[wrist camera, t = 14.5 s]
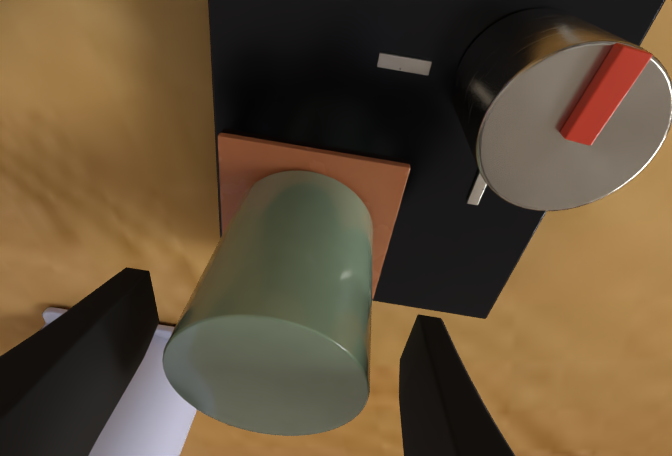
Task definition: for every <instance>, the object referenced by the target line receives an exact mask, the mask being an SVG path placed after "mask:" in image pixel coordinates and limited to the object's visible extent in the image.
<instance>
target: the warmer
mask: <svg viewBox="0 0 672 456" xmlns="http://www.w3.org/2000/svg"><path fill="white" fill-rule="evenodd" d="M664 2H665V0H208V6H209V25H210V45H211V65H212V84H213V104H214V124H215V143H216V163H217V182H218V202H219V222H220V239H221V237H222V220H221V199H220V178H219V156H218V135H219V134H220V133H227V134H233V135H239V136H245V137H251V138H257V139H263V140H269V141H275V142H281V143H287V144H293V145H299V146H305V147H311V148H317V149H323V150H329V151H335V152H341V153H347V154H353V155H359V156H365V157H371V158H377V159H383V160H389V161H395V162H401V163H407V164H410V172H409V175H408V179H407V182H406V186H405V189H404V193H403V196H402V200H401V203H400V207H399V210H398V214H397V217H396V221H395V224H394V228H393V231H392V235H391V238H390V242H389V245H388V249H387V252H386V256H385V259H384V263H383V266H382V270H381V273H380V277H379V280H378V284H377V287H376V291H375V294H374V298H373V299H372V300H373V301H379V302H385V303H391V304H397V305H403V306H409V307H416V308H422V309H428V310H434V311H440V312H446V313H452V314H458V315H465V316H471V317H477V318H483V319H486V318H487V316H488V314H489V312H490V310H491V309H492V307H493V305H494V303H495V302H496V300H497V298H498V296H499V295H500V293H501V291H502V289H503V287H504V286H505V284H506V282H507V280H508V279H509V277H510V275H511V273H512V271H513V270H514V268H515V266H516V264H517V263H518V261H519V259H520V257H521V256H522V254H523V252H524V250H525V248H526V247H527V245H528V243H529V241H530V240H531V238H532V236H533V234H534V232H535V231H536V229H537V227H538V225H539V224H540V222H541V220H542V218H543V216H544V215H545V213H546V211H537V210H531V209H525V208H522V207H519V206H516V205H513V204H511V203H509V202H507V201H505V200H504V199H502V198H501V197H499V196H498V195H496V194H495V193H494V192H493V191H492V190H491V189H490V188H489V187H488V185H487V184H486V183H485V181H484V179H483V178H482V176H481V174H480V171H479V169H478V166H477V164H476V162H475V159H474V157H473V154H472V152H471V149H470V147H469V144H468V142H467V139H466V137H465V134H464V132H463V129H462V127H461V124H460V122H459V119H458V117H457V114H456V111H455V108H454V103H453V85H454V80H455V75H456V72H457V69H458V67H459V65H460V62H461V60H462V58H463V57H464V55H465V53H466V52H467V50H468V49H469V47H470V46H471V45H472V44H473V42H474V41H475V40H476V39H477V38H478V37H479V36H480V35H481V34H482V33H483V32H484V31H486V30H487V29H488V28H489V27H490V26H492V25H493V24H495V23H496V22H498V21H500V20H501V19H503V18H505V17H507V16H509V15H512V14H515V13H518V12H520V11H525V10H529V9H538V8H546V9H555V10H560V11H563V12H565V13H568V14H570V15H573V16H575V17H577V18H579V19H581V20H583V21H586V22H588V23H590V24H592V25H594V26H596V27H599V28H601V29H603V30H605V31H607V32H609V33H611V34H614V35H616V36H618V37H620V38H622V39H624V40H627V41H629V42H631V43H633V44H635V45H637V46H640V44H641V43H642V41H643V39H644V37H645V36H646V34H647V32H648V30H649V29H650V27H651V25H652V23H653V21H654V20H655V18H656V16H657V14H658V13H659V11H660V9H661V7H662V5H663V4H664Z"/></svg>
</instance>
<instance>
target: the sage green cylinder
mask: <svg viewBox="0 0 672 456" xmlns="http://www.w3.org/2000/svg"><path fill="white" fill-rule="evenodd" d="M372 272H373V223H372V219H371V216H370V214H369V212H368V210H367V208H366V206H365V205H364V203H363V202H362V200H361V199H360V198H359V197H358V196H357V195H356V194H355V193H354V192H353V191H352V190H351V189H350V188H348V187H347V186H346V185H344V184H342V183H341V182H339V181H337V180H335V179H333V178H331V177H329V176H326V175H323V174H320V173H315V172H311V171H301V170H298V171H284V172H279V173H275V174H272V175H269V176H267V177H264V178H263V179H261V180H259V181H257V182H256V183H255V184H253V185H252V186H251V187H250V188H249V189H248V190H247V191H246V192H245V193H244V195H243V197H242V198H241V200H240V202H239V204H238V206H237V208H236V209H235V211H234V213H233V215H232V217H231V219H230V221H229V223H228V225H227V227H226V229H225V231H224V233H223V235H222V237H221V239H220V241H219V242H218V244H217V246H216V248H215V250H214V252H213V254H212V256H211V258H210V260H209V262H208V264H207V266H206V268H205V270H204V272H203V274H202V275H201V277H200V279H199V281H198V283H197V285H196V287H195V289H194V291H193V293H192V295H191V297H190V299H189V301H188V303H187V305H186V307H185V308H184V310H183V312H182V314H181V316H180V318H179V320H178V322H177V324H176V326H175V328H174V330H173V332H172V334H171V336H170V338H169V340H168V341H167V343H166V346H165V348H164V351H163V358H162V362H163V369H164V372H165V376H166V378H167V379H168V381H169V383H170V385H171V386H172V387H173V389H174V390H175V391H176V392H177V393H178V394H179V395H180V396H181V397H182V398H183V399H184V400H185V401H186V402H188V403H189V404H190V405H191V406H193V407H194V408H196V409H197V410H199V411H201V412H202V413H204V414H206V415H208V416H210V417H212V418H214V419H216V420H218V421H220V422H223V423H225V424H228V425H231V426H234V427H237V428H240V429H244V430H248V431H252V432H258V433H263V434H271V435H283V436H299V435H311V434H317V433H322V432H326V431H330V430H333V429H336V428H338V427H340V426H342V425H345V424H346V423H348V422H350V421H351V420H353V419H354V418H355V417H356V416H357V415H358V414H359V413H360V412H361V411H362V410H363V408H364V407H365V404H366V402H367V400H368V397H369V392H370V353H371V313H372Z"/></svg>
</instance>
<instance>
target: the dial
mask: <svg viewBox="0 0 672 456" xmlns="http://www.w3.org/2000/svg"><path fill="white" fill-rule="evenodd" d="M453 103H454V108H455V111H456V114H457V117H458V119H459V122H460V124H461V127H462V129H463V132H464V134H465V137H466V139H467V142H468V144H469V147H470V149H471V152H472V154H473V157H474V159H475V162H476V164H477V166H478V169H479V171H480V174H481V176H482V178H483V179H484V181H485V183H486V184H487V185H488V187H489V188H490V189H491V190H492V191H493V192H494V193H495V194H496V195H498V196H499V197H501V198H502V199H504V200H505V201H507V202H509V203H511V204H513V205H516V206H519V207H522V208H525V209H531V210H537V211H558V210H566V209H571V208H576V207H580V206H583V205H586V204H589V203H592V202H594V201H597V200H599V199H601V198H603V197H605V196H607V195H609V194H611V193H613V192H614V191H616V190H618V189H619V188H621V187H622V186H624V185H625V184H626V183H628V182H629V181H630V180H632V179H633V178H634V177H635V176H636V175H637V174H638V173H640V172H641V171H642V170H643V169H644V168H645V167H646V165H647V164H648V163H649V162H650V161H651V160H652V159H653V157H654V156H655V154H656V153H657V152H658V150H659V149H660V147H661V145H662V144H663V142H664V140H665V138H666V136H667V133H668V131H669V129H670V126H671V122H672V82H671V79H670V77H669V75H668V73H667V70H666V69H665V68H664V66H663V65H662V64H661V62H660V61H659V60H658V59H657V58H656V57H655V56H654V55H652V54H651V53H650V52H648V51H647V50H645V49H643V48H641V47H640V46H637V45H635V44H633V43H631V42H629V41H627V40H624V39H622V38H620V37H618V36H616V35H614V34H611V33H609V32H607V31H605V30H603V29H601V28H599V27H596V26H594V25H592V24H590V23H588V22H586V21H583V20H581V19H579V18H577V17H575V16H573V15H570V14H568V13H565V12H563V11H560V10H555V9H546V8H538V9H529V10H525V11H520V12H518V13H515V14H512V15H509V16H507V17H505V18H503V19H501V20H500V21H498V22H496V23H495V24H493V25H492V26H490V27H489V28H488V29H487V30H486V31H484V32H483V33H482V34H481V35H480V36H479V37H478V38H477V39H476V40H475V41H474V42H473V44H472V45H471V46H470V47H469V49H468V50H467V52H466V53H465V55H464V57H463V58H462V60H461V62H460V65H459V67H458V69H457V72H456V75H455V80H454V85H453Z"/></svg>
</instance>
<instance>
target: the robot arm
mask: <svg viewBox="0 0 672 456" xmlns="http://www.w3.org/2000/svg"><path fill="white" fill-rule="evenodd" d="M42 316H43V318H44V320H45V323H46V324H45V325H44V326H43V327H42V328H41V329H40V331H38V332H37V333H35V334H34V335H32V336H31V337H29V338H28V339H26V340H25V341H23V342H22V343H20V344H19V345H17V346H16V347H14V348H13V349H11V350H10V351H8V352H6V353H5V354H3V355H2V356H0V456H180V453H181V450H182V448H183V445H184V443H185V440H186V437H187V435H188V432H189V429H190V427H191V424H192V422H193V419H194V416H195V414H196V411H197V409H196V408H194V407H193V406H191V405H190V404H189V403H188V402H186V401H185V400H184V399H183V398H182V397H181V396H180V395H179V394H178V393H177V392H176V391H175V390H174V389H173V387H172V386H171V385H170V383H169V381H168V379H167V378H166V376H165V372H164V369H163V362H162V358H163V351H164V348H165V346H166V343H167V341H168V340H169V338H170V336H171V334H172V332H173V330H174V328H175V327H172V326H166V325H160V324H159V317H158V312H157V307H156V302H155V297H154V292H153V287H152V282H151V277H150V272H149V271H145V270H139V269H133V268H127V267H126V268H125V269H124V270H122V271H121V272H119V273H118V274H117V275H115V276H114V277H112V278H111V279H110V280H108V281H107V282H106V283H104V284H103V285H102V286H100V287H99V288H98V289H96V290H95V291H94V292H92V293H91V294H90V295H88V296H87V297H85V298H84V299H83V300H81V301H80V302H79V303H77V304H76V305H75V306H73V307H72V308H70V309H69V310H67V309H61V308H55V307H48V308H46V309H45V311H44V312H43V313H42ZM399 403H400V415H401V426H402V438H403V449H404V456H515V454H514V453H513V451H512V450H511V448H510V447H509V445H508V443H507V442H506V440H505V439H504V437H503V435H502V434H501V432H500V430H499V429H498V427H497V425H496V424H495V422H494V420H493V419H492V417H491V415H490V413H489V412H488V410H487V408H486V406H485V405H484V403H483V401H482V399H481V397H480V395H479V394H478V392H477V390H476V388H475V386H474V384H473V382H472V381H471V379H470V377H469V375H468V373H467V371H466V369H465V367H464V365H463V363H462V361H461V359H460V357H459V355H458V353H457V351H456V349H455V346H454V344H453V342H452V340H451V338H450V336H449V334H448V331H447V329H446V327H445V325H444V322H443V321H442V319H441V318H437V317H430V316H424V315H418V316H417V318H416V321H415V323H414V326H413V328H412V331H411V333H410V336H409V338H408V341H407V343H406V346H405V348H404V351H403V353H402V356H401V358H400V374H399Z"/></svg>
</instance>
